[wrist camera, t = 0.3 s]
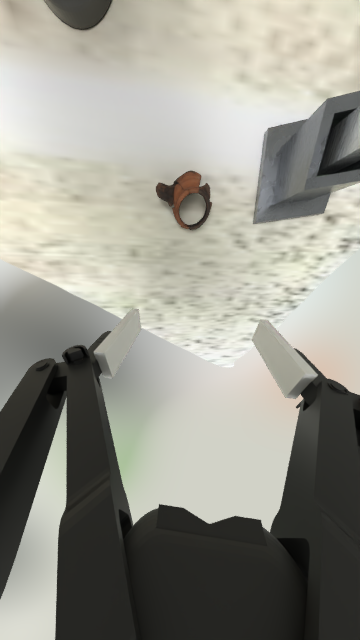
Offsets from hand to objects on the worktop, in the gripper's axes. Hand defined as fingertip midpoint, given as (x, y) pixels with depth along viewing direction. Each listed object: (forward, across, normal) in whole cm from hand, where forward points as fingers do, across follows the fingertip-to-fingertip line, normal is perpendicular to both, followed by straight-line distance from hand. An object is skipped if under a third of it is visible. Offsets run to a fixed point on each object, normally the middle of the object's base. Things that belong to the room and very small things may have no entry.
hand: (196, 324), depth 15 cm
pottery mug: (+29, -4, +15) cm, 33 cm away
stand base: (+28, +19, +20) cm, 40 cm away
